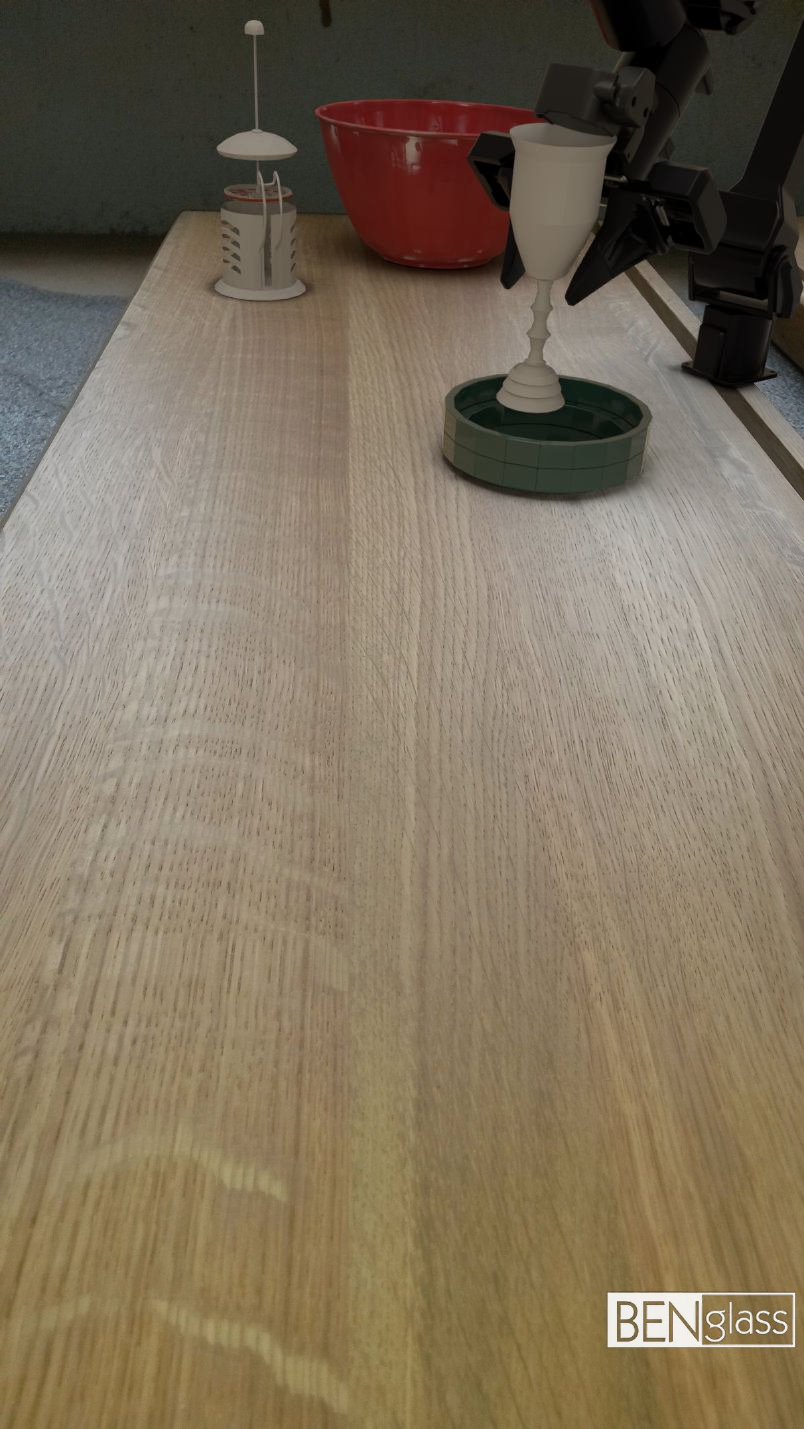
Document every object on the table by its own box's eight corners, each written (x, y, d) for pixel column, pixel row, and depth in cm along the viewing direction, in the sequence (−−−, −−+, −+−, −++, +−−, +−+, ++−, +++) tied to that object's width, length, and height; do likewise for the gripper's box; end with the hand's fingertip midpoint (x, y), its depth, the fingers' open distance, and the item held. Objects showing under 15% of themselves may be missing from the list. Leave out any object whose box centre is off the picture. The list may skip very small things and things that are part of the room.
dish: (550, 411, 102) (556, 361, 100) (685, 473, 92) (695, 420, 90) (402, 445, 95) (404, 392, 92) (531, 517, 84) (537, 460, 82)
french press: (293, 274, 136) (291, 16, 122) (321, 302, 127) (322, 27, 113) (206, 277, 133) (193, 14, 119) (227, 307, 124) (217, 25, 110)
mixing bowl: (338, 221, 158) (340, 89, 150) (557, 238, 156) (572, 104, 147) (292, 275, 135) (291, 122, 126) (549, 296, 132) (566, 141, 124)
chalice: (529, 373, 94) (561, 118, 83) (597, 402, 90) (639, 139, 79) (463, 395, 90) (486, 130, 79) (531, 426, 86) (565, 152, 75)
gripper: (492, 0, 83) (381, 195, 82) (740, 25, 73) (617, 247, 72) (546, 116, 92) (448, 292, 92) (772, 152, 83) (664, 349, 82)
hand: (535, 293), depth 84 cm, fingers closed on chalice, 5 cm apart
